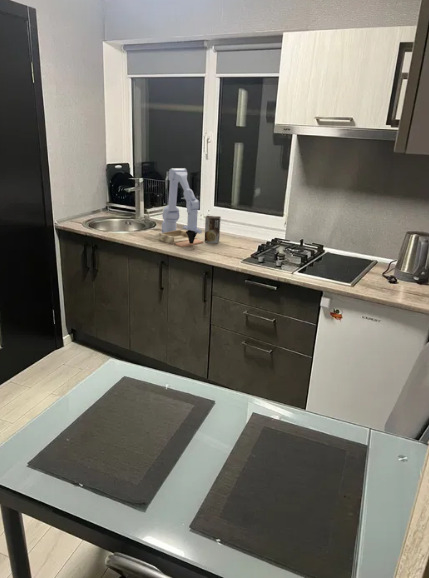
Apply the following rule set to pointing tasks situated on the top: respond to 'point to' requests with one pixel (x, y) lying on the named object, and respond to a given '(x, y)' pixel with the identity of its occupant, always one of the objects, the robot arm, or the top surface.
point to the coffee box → (212, 229)
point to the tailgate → (186, 243)
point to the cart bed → (174, 236)
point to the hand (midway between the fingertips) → (191, 242)
